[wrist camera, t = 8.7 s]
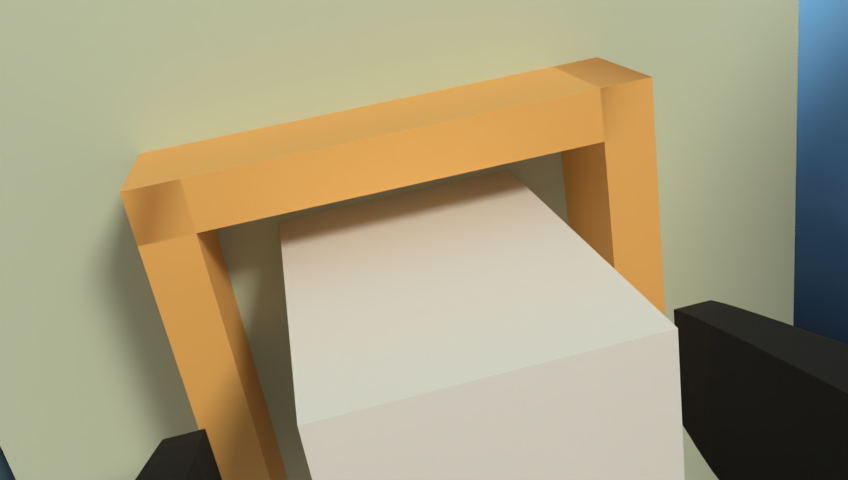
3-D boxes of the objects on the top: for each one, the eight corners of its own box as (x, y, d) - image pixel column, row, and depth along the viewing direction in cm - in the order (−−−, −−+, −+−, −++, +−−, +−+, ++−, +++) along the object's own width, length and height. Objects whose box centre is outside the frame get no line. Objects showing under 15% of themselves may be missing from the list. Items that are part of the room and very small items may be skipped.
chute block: (508, 169, 14) (677, 327, 8) (539, 408, 16) (693, 666, 10) (278, 221, 13) (296, 425, 8) (340, 461, 15) (389, 760, 10)
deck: (765, -152, 14) (893, -172, 11) (763, 490, 19) (849, 585, 16) (-159, 17, 12) (-282, 43, 9) (130, 673, 17) (106, 813, 15)
